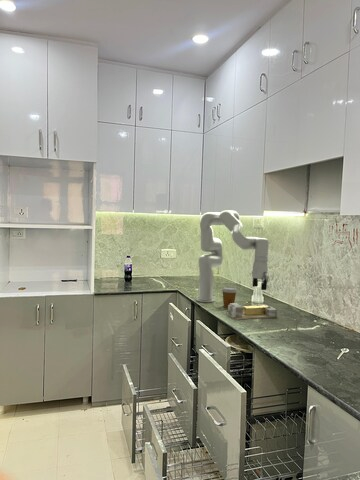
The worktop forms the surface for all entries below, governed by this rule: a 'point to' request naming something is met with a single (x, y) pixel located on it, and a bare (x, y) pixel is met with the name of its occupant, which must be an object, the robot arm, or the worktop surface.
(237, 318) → the tray with grey blocks
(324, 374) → the worktop surface
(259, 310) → the brass tube
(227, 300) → the disposable coffee cup
